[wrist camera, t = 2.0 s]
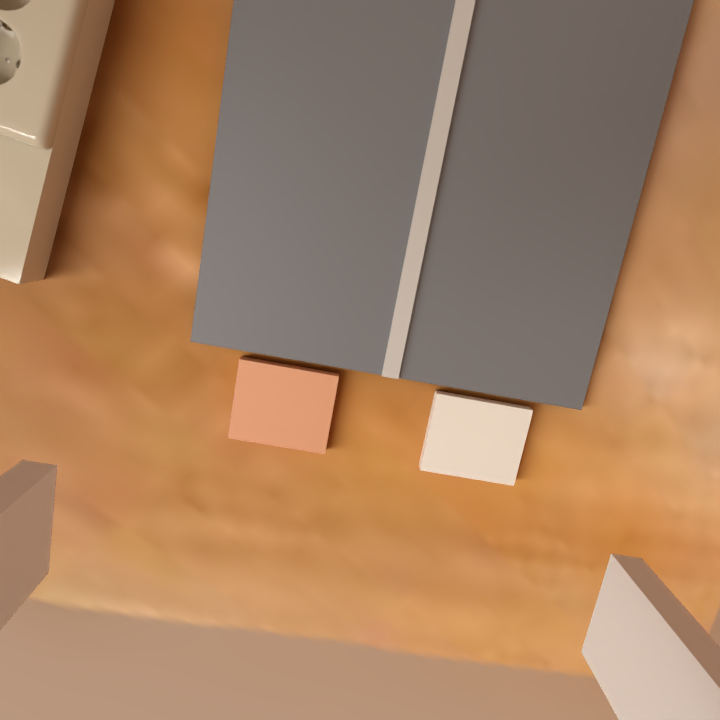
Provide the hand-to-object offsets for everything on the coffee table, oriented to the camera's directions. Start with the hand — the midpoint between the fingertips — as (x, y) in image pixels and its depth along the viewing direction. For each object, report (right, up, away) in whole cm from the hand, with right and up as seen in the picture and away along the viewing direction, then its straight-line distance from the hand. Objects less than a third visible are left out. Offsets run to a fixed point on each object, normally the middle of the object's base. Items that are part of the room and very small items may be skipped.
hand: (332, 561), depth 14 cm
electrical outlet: (-18, +19, +20) cm, 33 cm away
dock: (+4, +13, +21) cm, 25 cm away
